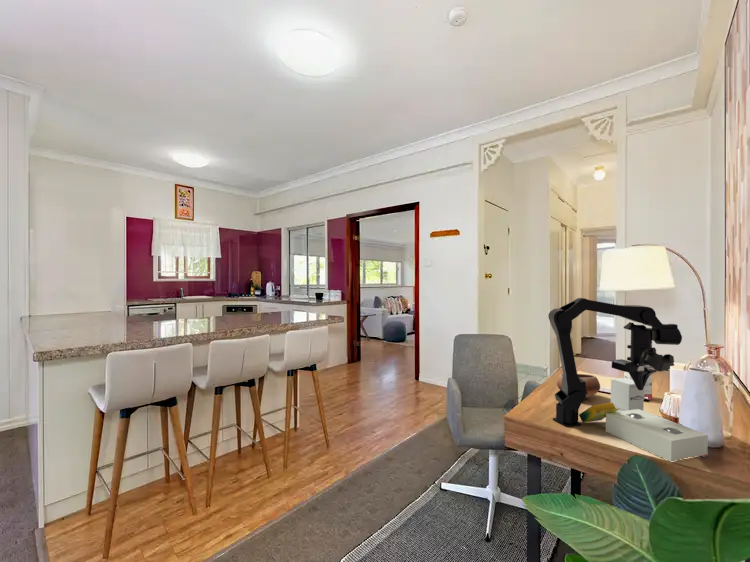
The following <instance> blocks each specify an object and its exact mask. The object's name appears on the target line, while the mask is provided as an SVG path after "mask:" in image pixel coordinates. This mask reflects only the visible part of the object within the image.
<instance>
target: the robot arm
mask: <svg viewBox="0 0 750 562" xmlns="http://www.w3.org/2000/svg"><path fill="white" fill-rule="evenodd" d="M586 311H591V312H595V313H600V314H606V315H613V316H618V317H620V318H623V319H626V320H629V322H628V323H627V324H625V325H624V326H623V329H624V330H628V331H630V344H627V345H626V346H627V347H626V348H627V349H629V350H630V355H629V356H627V358H626V359H621V358H620V359H613V360H612V361H611V369H614V370H618V371H621V372H623V373H624V372H629V374H630V376H631V377H632V379H633V381H634V383H635V385H636V387H637V389H638V390H643V388H644V386H645V384H646V382H647V379H648V377H649V376H650V375H651V374H652V375H653V374H654V373H656V372H664V371H665V372H669V370H670V369H671V367H673V366H675V360H674V359H675V358H674V355H672V354H670V353H669V354H668V353H666V354H664V355H663V354H659V353H657V349H656V347H653V342H654V343H655V344H657V345H667V346H668V345H671V346H672V345H673V346H675V345H676V346H678V345H680V344H681V342H682V339H683V336H682V334H681V330H680V329H679V328H678V324H675V323H666V324H665V323H662V322H661V320H659V318H658V317H657V313H656V311H655V310H654V308H653V307H650V306H646V305H645V306H644V305H639V304H636V305H635V304H634V305H633V304H627V305H626V304H621V305H620V304H615V303H614V304H613V303H609V302H604V301H603V302H602V301H597V300H593V299H587V298H584V297H577V298H576V299H574V300H573V301H571V302H568V303H567V304H565V305H562V306H561V307H559V308H554V309H551V310H550V311H549V312H548V314H547V315H548V320H549V323H550V325H551V327H552V329H553V331H554V334H555V336H556V341H557V347H558V352H559V353H558V354H559V359H560V364H561V370H562V374H563V378H562V389H561V390H560V389H558V391H557V392H555V393H554V398H555V400H556V401H557V403H556V404H555V406H556V409H555V417H552V421H555V422H557V423H558V424H560V425H563V426H564V427H567V428H568V427H569V428H570V427H574V426H581V425H582V422H579V409H580V407H581V405H582V403H584V402H585V400H586V399H587V397H586V394H588V393H587V391H586V383H585V381H583V380H582V379H581V378H580V377H578V375H577V374H578V371H577V365H576V362H575V361H576V360H575V355H574V349H573V345H572V338H571V332H572V328H573V321H574V320H575V319H577V317H579V316H580V315H582V313H584V312H586ZM630 321H632V322H630ZM635 322H636V323H638V324H635ZM647 326H648V327H647Z"/></svg>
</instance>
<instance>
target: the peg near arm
mask: <svg viewBox="0 0 750 562" xmlns="http://www.w3.org/2000/svg"><path fill="white" fill-rule="evenodd" d="M630 417H633V418H635V419H642V416H641V415H639V414H635V413H631V414H630Z"/></svg>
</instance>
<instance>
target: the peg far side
mask: <svg viewBox="0 0 750 562" xmlns="http://www.w3.org/2000/svg"><path fill="white" fill-rule="evenodd" d="M666 431H668V432H670V433H673V434H679V430H677V429H675V428H670V427H667V428H666Z"/></svg>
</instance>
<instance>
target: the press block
mask: <svg viewBox="0 0 750 562" xmlns="http://www.w3.org/2000/svg"><path fill="white" fill-rule="evenodd" d="M631 413H635V414H639V415H641V416H642V419H635V418H633V417H630V414H631ZM667 427H670V428H675V429H677V430H679V434H673V433H670V432H668V431H666V428H667ZM606 431H607V433H608V432H609V434H610V433H611V435H613V436H614V437H617V438H619V439H621V440H623V441H625V442H626V443H630V444H631V443H632V445H633V446H636V447H638V448H640V449H642V448H643V449H642V450H644V449H645V450H644V451H646V450H647V451H646V452H648V451H649V452H648V453H650V452H651V454H652V453H653V455H654V454H655V456H657V455H658V456H657V457H659V456H660V457H659V458H661V457H663V458H665V459H668V460H670V461H675V460H680V459H684V458H688V457H695V456H700V455H704V454H707V455H708V446H709V445H708V444H709V443H708V441H709V440H708V439H709V438H708V437H709V435H708V434H707V433H704V432H702V431H698V430H696V429H693V428H690V427H688V426H685V425H682V424H679V423H678V422H674V421H672V420H670V419H666V418H664V417H661V416H659V415H656V414H653V413H651V412H647V411H645V410H644V409H643V410H640V409H635V410H627V411H619V412H611V413H606V417H605V432H606ZM663 458H662V459H663ZM665 459H664V460H665Z"/></svg>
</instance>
